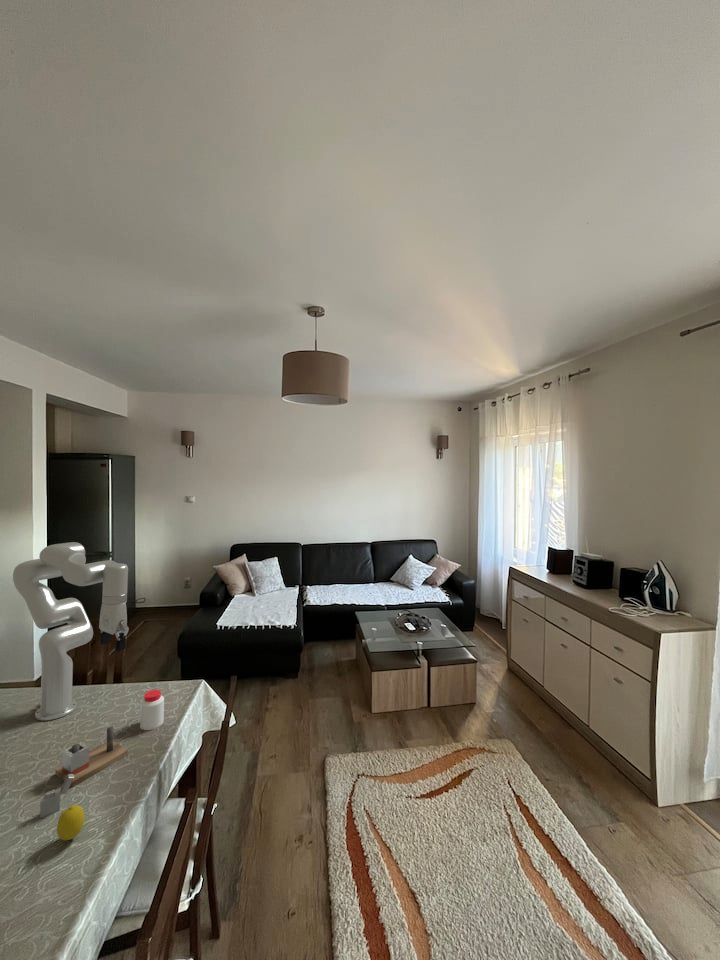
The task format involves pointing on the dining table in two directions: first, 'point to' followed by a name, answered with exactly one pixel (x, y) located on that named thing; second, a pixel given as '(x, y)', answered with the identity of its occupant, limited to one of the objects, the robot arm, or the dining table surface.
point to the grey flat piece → (54, 798)
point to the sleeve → (75, 759)
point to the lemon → (70, 822)
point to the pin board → (97, 758)
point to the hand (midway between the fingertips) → (112, 646)
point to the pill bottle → (152, 710)
